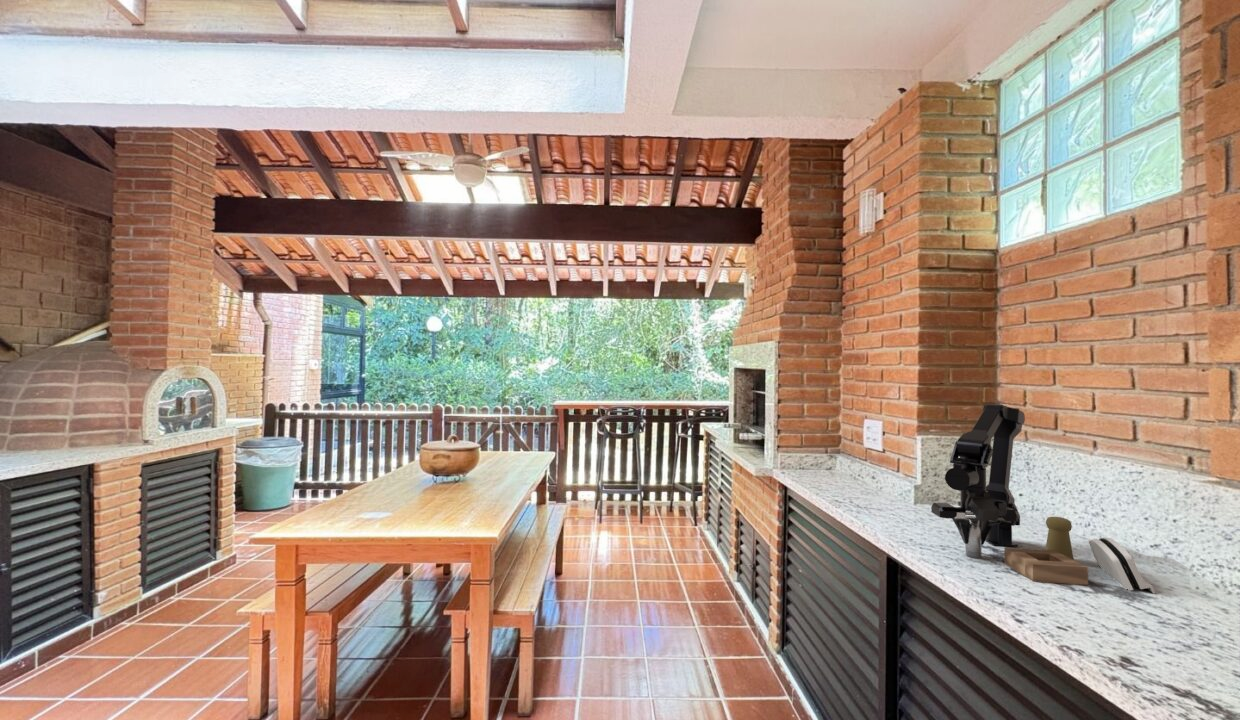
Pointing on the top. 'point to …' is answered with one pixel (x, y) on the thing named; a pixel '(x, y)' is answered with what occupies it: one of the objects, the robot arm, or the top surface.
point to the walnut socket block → (1046, 566)
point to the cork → (1059, 536)
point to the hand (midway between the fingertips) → (973, 544)
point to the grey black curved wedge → (1118, 563)
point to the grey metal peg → (974, 537)
